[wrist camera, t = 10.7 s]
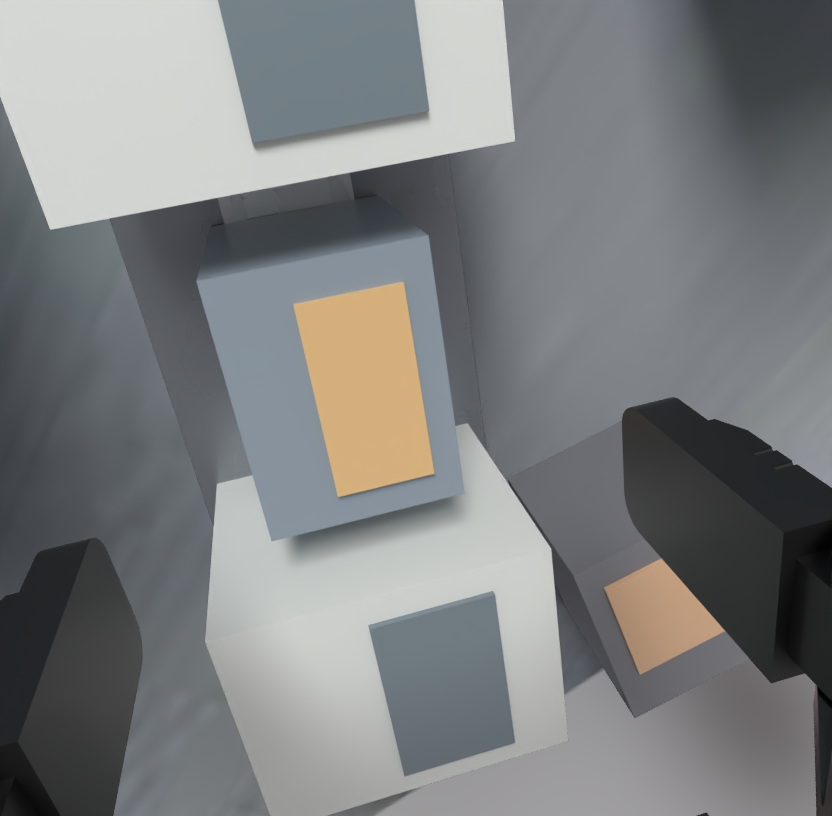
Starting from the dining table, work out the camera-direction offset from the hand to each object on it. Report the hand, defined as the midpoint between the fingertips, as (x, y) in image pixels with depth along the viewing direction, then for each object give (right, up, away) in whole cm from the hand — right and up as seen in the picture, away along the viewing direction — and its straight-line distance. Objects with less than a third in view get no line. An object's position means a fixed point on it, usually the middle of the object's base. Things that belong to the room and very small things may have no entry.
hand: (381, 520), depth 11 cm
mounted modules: (-2, +4, +9) cm, 11 cm away
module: (-2, +4, +9) cm, 11 cm away
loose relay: (+7, -3, +17) cm, 19 cm away
